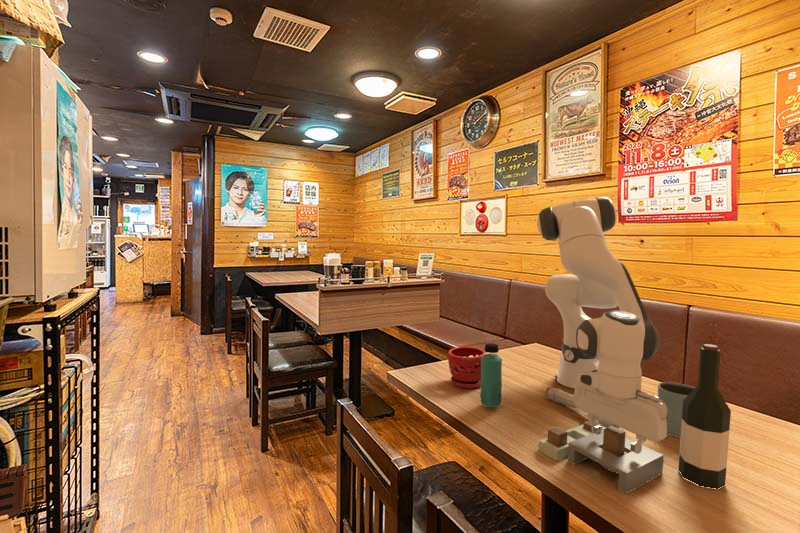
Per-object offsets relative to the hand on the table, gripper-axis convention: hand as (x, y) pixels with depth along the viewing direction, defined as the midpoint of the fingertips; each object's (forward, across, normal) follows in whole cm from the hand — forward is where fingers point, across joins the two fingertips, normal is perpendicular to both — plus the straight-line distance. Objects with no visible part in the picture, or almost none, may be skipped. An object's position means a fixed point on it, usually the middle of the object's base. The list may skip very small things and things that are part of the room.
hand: (615, 442), depth 93 cm
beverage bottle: (+6, +38, +3) cm, 39 cm away
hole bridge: (+6, 0, 0) cm, 6 cm away
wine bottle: (+6, -12, -13) cm, 19 cm away
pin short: (+6, +11, -8) cm, 15 cm away
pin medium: (+6, +11, +6) cm, 14 cm away
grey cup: (+6, +2, -32) cm, 33 cm away
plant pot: (+6, +57, -3) cm, 57 cm away
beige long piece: (+7, +22, -18) cm, 29 cm away
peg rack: (+6, +11, -1) cm, 13 cm away
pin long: (+6, 0, 0) cm, 6 cm away
